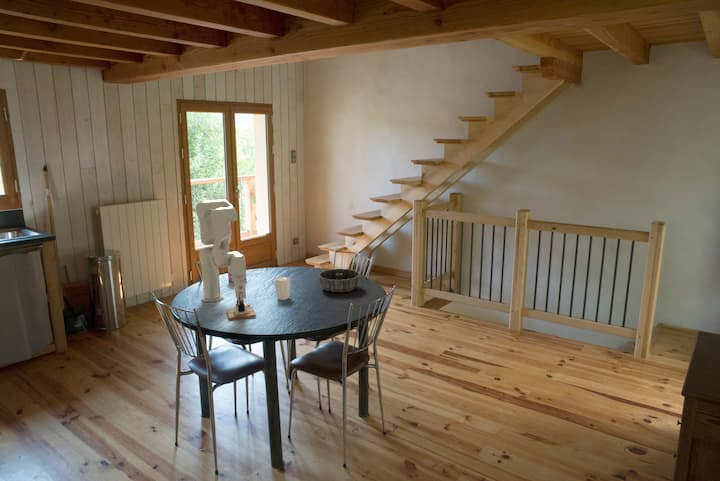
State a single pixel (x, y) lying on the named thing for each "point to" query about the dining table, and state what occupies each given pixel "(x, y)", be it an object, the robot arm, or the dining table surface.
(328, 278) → the bundt pan
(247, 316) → the shaft block
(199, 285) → the dining table surface
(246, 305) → the knob
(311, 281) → the dining table surface
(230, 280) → the candy bar box
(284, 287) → the cup
